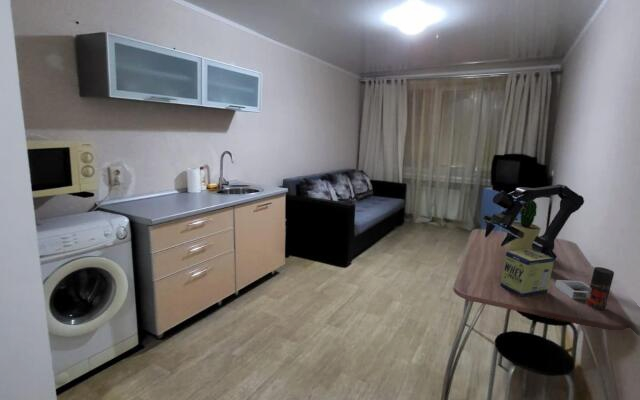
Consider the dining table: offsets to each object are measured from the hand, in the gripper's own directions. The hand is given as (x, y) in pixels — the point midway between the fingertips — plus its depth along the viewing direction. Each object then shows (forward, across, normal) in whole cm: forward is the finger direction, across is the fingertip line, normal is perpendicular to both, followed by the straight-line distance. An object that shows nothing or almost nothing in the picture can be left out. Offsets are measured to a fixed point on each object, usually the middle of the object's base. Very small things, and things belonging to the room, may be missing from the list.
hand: (493, 241), depth 163 cm
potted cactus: (-1, -11, +42) cm, 44 cm away
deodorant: (+3, +42, +13) cm, 44 cm away
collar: (+2, +32, +17) cm, 37 cm away
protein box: (+11, +23, +1) cm, 25 cm away
